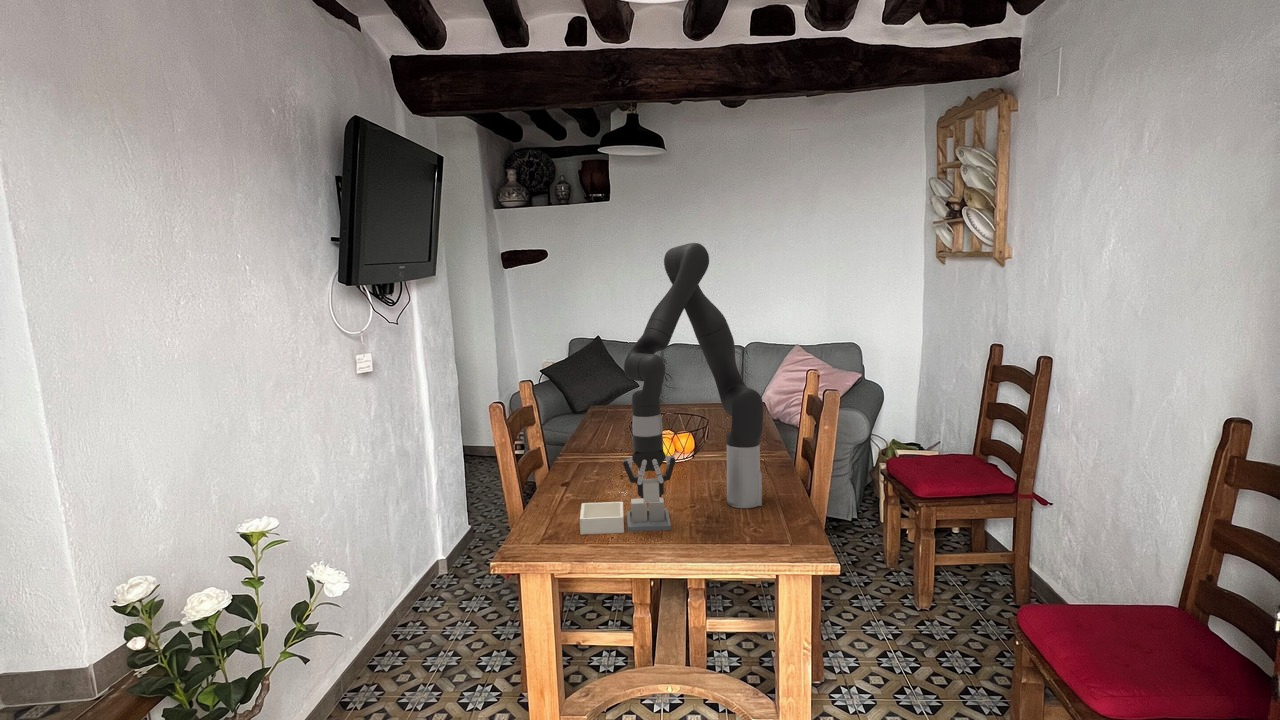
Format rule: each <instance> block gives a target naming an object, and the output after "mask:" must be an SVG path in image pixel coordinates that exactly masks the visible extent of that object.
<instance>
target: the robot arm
mask: <svg viewBox="0 0 1280 720" xmlns="http://www.w3.org/2000/svg"><path fill="white" fill-rule="evenodd" d="M663 264H664V265H663V266H664V271H665V274H666V275H667V277H668V279H669V281H670V283H671V287H670V288H669V290H668V291H667V292H666V294H665V295H664V296H663V298H662V299H661V300H660V301H659V302H658V304H657V305H656V306H655V308H654V309H653V311H652V313H651V314H650V317H649V319H648V321H647V324H646V325H645V329H644V331H643V333H642V335H641V336H640V338H638V340H637V341H636V342H635V344H634V346H632V348H631V349H630V351H629V352H628V353H627V355H626V357H625V360H624V363H623V371H624V372H623V373H624V374H625V377H626V378H628V379H629V380H631V381H635V382H643V386H642V389H641V390H636V391H635V392H633V394H632V396H631V405H632V421H631V422H632V424H631V426H632V430H631V431H632V442H633V444H632V446H633V454H632V456H631V457H629V458H624V459H622V464H623V468H624V470H625V472H626V474H627V477H628V480H629V481H630V483H631V484H633V483H634V484H636V485H637V486H636V487H637V488H636V489H637V495H638V497H640V498H643V483H642V480H643V479H644V476H645V473H646V472H655V474H656V478H657V479H658V482H659V498H663V497H662V495H664V494H665V486H664V483H665V482H667V481H670V480H671V477H672V475H673V471H674V468H675V464H676V461H677V460H676V457H675V456H674V455H670V456H669V455H666V452H665V451H664V441H663V438H664V436H663V431H664V430H663V421H662V416H661V393H662V388H663V383H664V378H665V376H666V375H665V374H666V367H665V363H664V360H663V359H662V357H661V356H659V355H658V354H656V353H658V352H662V351H665V350H666V349H667V348H668V347H669V344H670V341H671V339H672V337H673V335H674V332H675V329H676V327H677V326H678V325H677V324H678V322H679V320H680V318H681V316H682V314H683V312H684V311H685V314H686V315H687V317H688V320H689V322H690V324H691V327H692V331H693V332H694V335H695V338H696V340H697V342H698V345H699V347H700V350H701V352H702V353H703V355H704V358H705V361H706V363H707V365H708V368H709V370H710V372H711V374H712V377H713V379H714V382H715V384H716V388H717V391H718V395H719V400H720V402H721V406H722V408H723V410H724V411H725V412H726V414H728V415H729V417H731V428H730V429H731V430H730V431H729V432H727V434H726V439H725V441H726V443H725V444H726V445H725V446H726V503H727V505H729V507H732V508H737V509H752V508H757V507H761V506H763V496H762V495H763V477H762V476H763V474H762V471H761V463H760V462H761V437H762V434H763V429H764V428H763V426H764V402H763V401H764V400H763V398H762V396H761V394H760V393H759V392H758V391H757V390H755V389H753V388H750V387H747V386H746V384H745V381H744V380H743V378H742V376H741V374H740V371H739V369H738V366H737V361H736V348H735V347H736V346H735V340H734V337H733V334H732V333H733V332H732V331H731V329H730V326H729V324H728V320H727V319H726V317H725V316H724V314H723V312H721V310H719V308H718V307H717V306H715V304H714V303H713V302H712V301H711V300H710V299H709V298H708V297H707V296H706V295H705V293H704V292H703V291H702V289H701V287H700V285H699V284H700V283H701V281H702V279H703V278H704V276H705V274H706V272H707V271H708V267H709V266H710V265H709V264H710V255H709V252H708V250H707V248H706V247H705V246H704V245H702V244H701V243H699V242H690V243H685V244H682V245H678V246H674V247H671V248H669V249H668V250H667V251H666V253H665V254H664V258H663ZM664 461H666V462H665V463H666V465H667V467H666V470H665V473H664V474H663V473H662V471H661V469H660V468H661V465H662V464H663V463H664ZM633 463H634V464H635V465H636V466H637V468H638V470H637V472H638V473H637V476H635V475H634V473H633V470H632V466H633Z"/></svg>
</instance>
